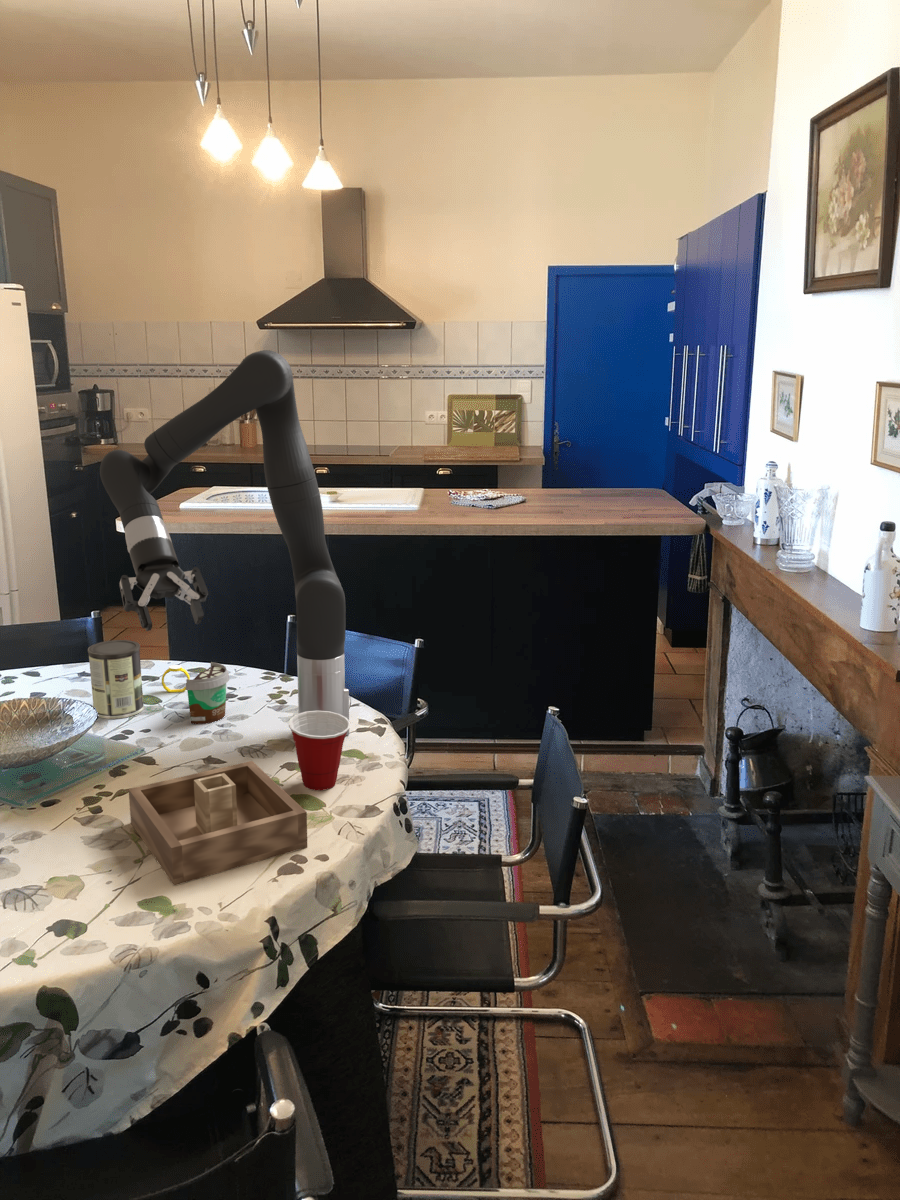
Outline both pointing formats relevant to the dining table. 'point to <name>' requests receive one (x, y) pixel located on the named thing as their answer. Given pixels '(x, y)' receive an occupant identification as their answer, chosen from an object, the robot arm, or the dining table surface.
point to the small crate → (215, 803)
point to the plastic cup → (319, 746)
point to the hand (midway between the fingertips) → (174, 625)
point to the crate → (188, 854)
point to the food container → (208, 694)
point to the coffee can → (116, 678)
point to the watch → (174, 669)
